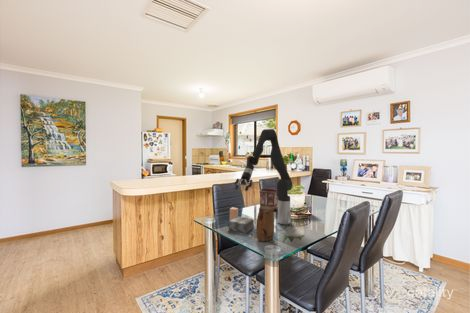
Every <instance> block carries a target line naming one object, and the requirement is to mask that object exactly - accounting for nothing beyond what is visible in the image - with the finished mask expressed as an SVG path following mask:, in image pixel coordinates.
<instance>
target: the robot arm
mask: <svg viewBox="0 0 470 313" xmlns="http://www.w3.org/2000/svg"><path fill="white" fill-rule="evenodd" d="M278 139H279V138H278V135H277V131H276V130H275V128H264V129H262V131H261V132H260V135H259V139H258V142H257V144H256V145H255V148H254V150H253V151H252V153H251V154H252V155H248V156H247V159H246V165H245V168H244V170H243V172H242V174H241V177H240V179H239V178H236V180H235V182H234V185H235V190H236V191H238V189H239V187H240V186H242V185H244V186H245V188H244V191H245V192H248V191H249V188H252V186H253V179H252V178H251V177H252V176H253V171H254V170H255V166H257V165H258V164H259V161H260V157H261V156H262V154H263V152H264V144H265V142H266V141H270V144H271V149H270V150H271V151H270V160H271V163H272V166H273V167H274V169H275V170H276V171H277V173H278V175H279V177H280V179H279V180H278V181H277V182H276V190H277V197H278V207H277V219H276V220H277V223H278V224H281V225H289V224H290V223H291V220H292V218H291V215H292V214H291V212H292V210H291V196H290V195H289V191H291V190H292V188H293V181H292V179H291V177H290V175H289V172H288V170H287V166H286V164H285V161H284V157H283V154H282V150H281V147H280V144H279V140H278Z"/></svg>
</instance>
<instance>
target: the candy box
mask: <svg viewBox="0 0 470 313" xmlns="http://www.w3.org/2000/svg"><path fill="white" fill-rule="evenodd" d="M304 195H305V203H304V204H305V206H307V207H308V208H309V212H310V213H311V215H312V210H313V209H312V207H313V206H312V203H313V202H312V198H313V196H312V195H311V194H304Z"/></svg>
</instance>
